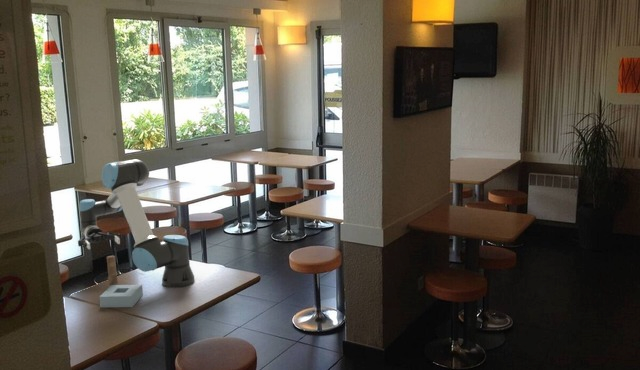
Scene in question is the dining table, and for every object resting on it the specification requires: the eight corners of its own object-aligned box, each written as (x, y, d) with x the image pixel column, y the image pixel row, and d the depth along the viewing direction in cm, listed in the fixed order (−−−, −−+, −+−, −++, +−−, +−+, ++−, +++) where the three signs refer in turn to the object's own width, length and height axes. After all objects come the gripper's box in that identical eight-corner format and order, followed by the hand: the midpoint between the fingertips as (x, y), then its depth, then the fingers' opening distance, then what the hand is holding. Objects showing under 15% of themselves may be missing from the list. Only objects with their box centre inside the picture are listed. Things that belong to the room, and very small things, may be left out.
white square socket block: (142, 294, 263) (141, 284, 262) (132, 307, 249) (131, 296, 248) (112, 295, 263) (111, 284, 262) (100, 307, 249) (99, 296, 248)
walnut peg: (119, 290, 269) (116, 255, 266) (116, 293, 266) (113, 257, 262) (111, 290, 269) (108, 255, 266) (108, 293, 266) (105, 258, 262)
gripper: (119, 236, 296) (131, 246, 279) (68, 245, 283) (77, 256, 265) (118, 222, 295) (130, 231, 277) (66, 230, 281) (75, 240, 264)
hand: (104, 243), depth 271 cm, fingers open, 13 cm apart
